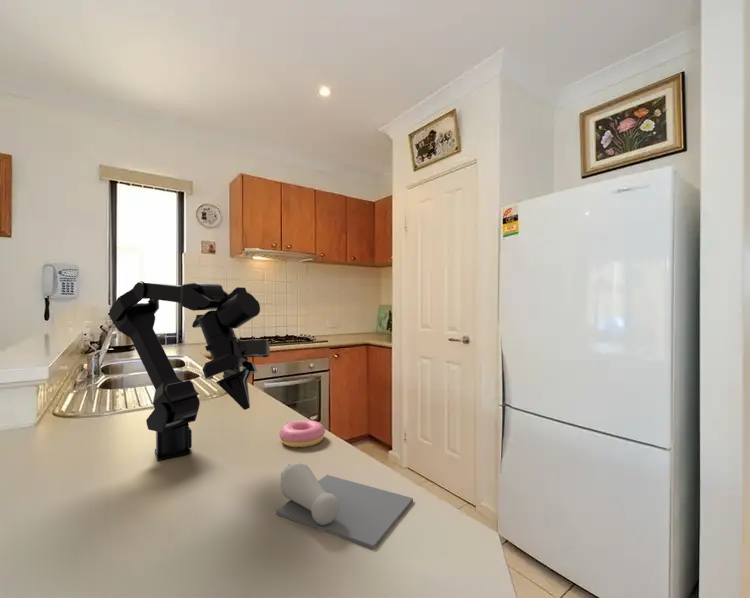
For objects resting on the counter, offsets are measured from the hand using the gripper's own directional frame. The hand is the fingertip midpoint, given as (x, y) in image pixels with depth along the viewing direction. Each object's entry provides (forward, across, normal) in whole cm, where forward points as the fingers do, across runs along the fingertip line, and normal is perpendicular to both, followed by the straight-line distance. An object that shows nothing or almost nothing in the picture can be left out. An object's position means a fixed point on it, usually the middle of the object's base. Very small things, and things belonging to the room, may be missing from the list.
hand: (247, 408), depth 75 cm
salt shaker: (+14, -7, -4) cm, 16 cm away
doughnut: (+12, +18, -6) cm, 23 cm away
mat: (+22, -11, -11) cm, 28 cm away
